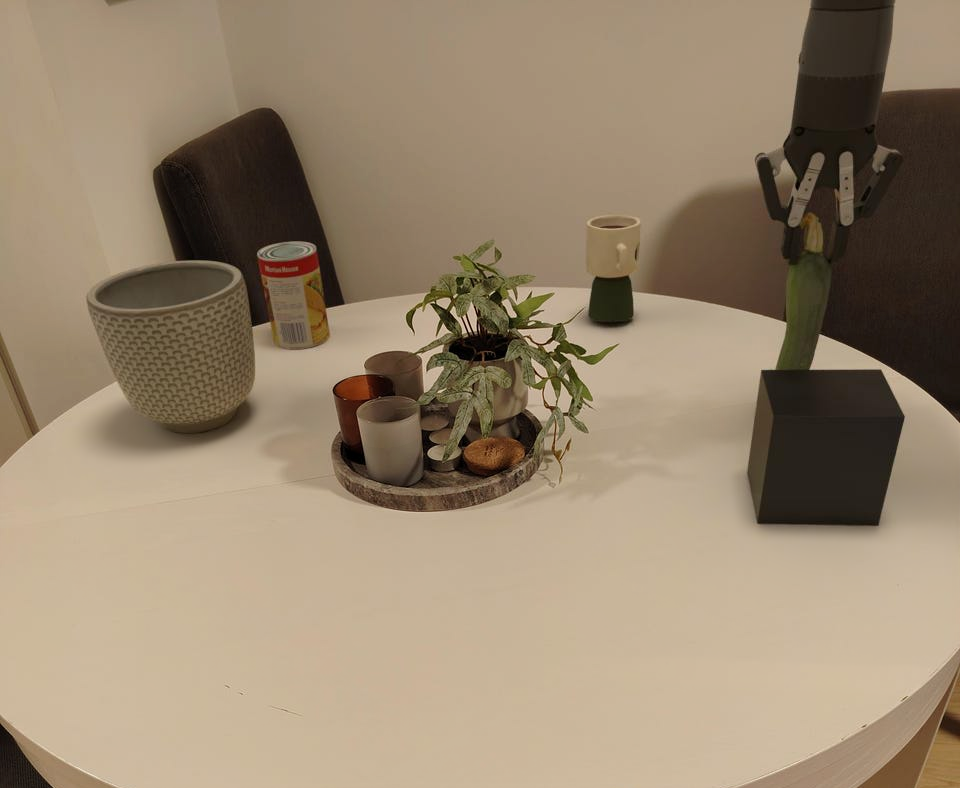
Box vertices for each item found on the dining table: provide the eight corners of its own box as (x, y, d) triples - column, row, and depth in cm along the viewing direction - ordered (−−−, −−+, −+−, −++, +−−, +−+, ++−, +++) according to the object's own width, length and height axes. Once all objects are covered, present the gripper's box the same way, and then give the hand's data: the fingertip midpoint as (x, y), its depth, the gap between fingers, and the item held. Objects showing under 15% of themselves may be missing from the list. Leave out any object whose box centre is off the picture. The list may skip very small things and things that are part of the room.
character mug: (647, 330, 128) (652, 230, 120) (595, 336, 128) (598, 236, 120) (624, 303, 137) (628, 208, 129) (576, 309, 136) (577, 213, 128)
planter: (109, 413, 117) (66, 282, 107) (239, 376, 124) (210, 249, 114) (153, 466, 105) (110, 324, 95) (294, 421, 112) (268, 285, 102)
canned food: (331, 326, 136) (318, 239, 129) (328, 347, 130) (314, 257, 123) (277, 330, 136) (260, 243, 129) (271, 351, 130) (253, 261, 123)
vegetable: (808, 396, 107) (846, 207, 94) (804, 412, 103) (843, 219, 91) (767, 391, 108) (800, 204, 95) (763, 407, 105) (796, 216, 92)
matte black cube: (855, 464, 97) (877, 361, 90) (878, 525, 88) (905, 416, 81) (745, 463, 99) (759, 362, 92) (757, 523, 90) (773, 416, 83)
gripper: (766, 76, 83) (743, 275, 94) (935, 69, 81) (892, 273, 92) (757, 63, 89) (736, 252, 100) (914, 55, 87) (876, 249, 98)
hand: (811, 261), depth 96 cm, fingers closed on vegetable, 3 cm apart
